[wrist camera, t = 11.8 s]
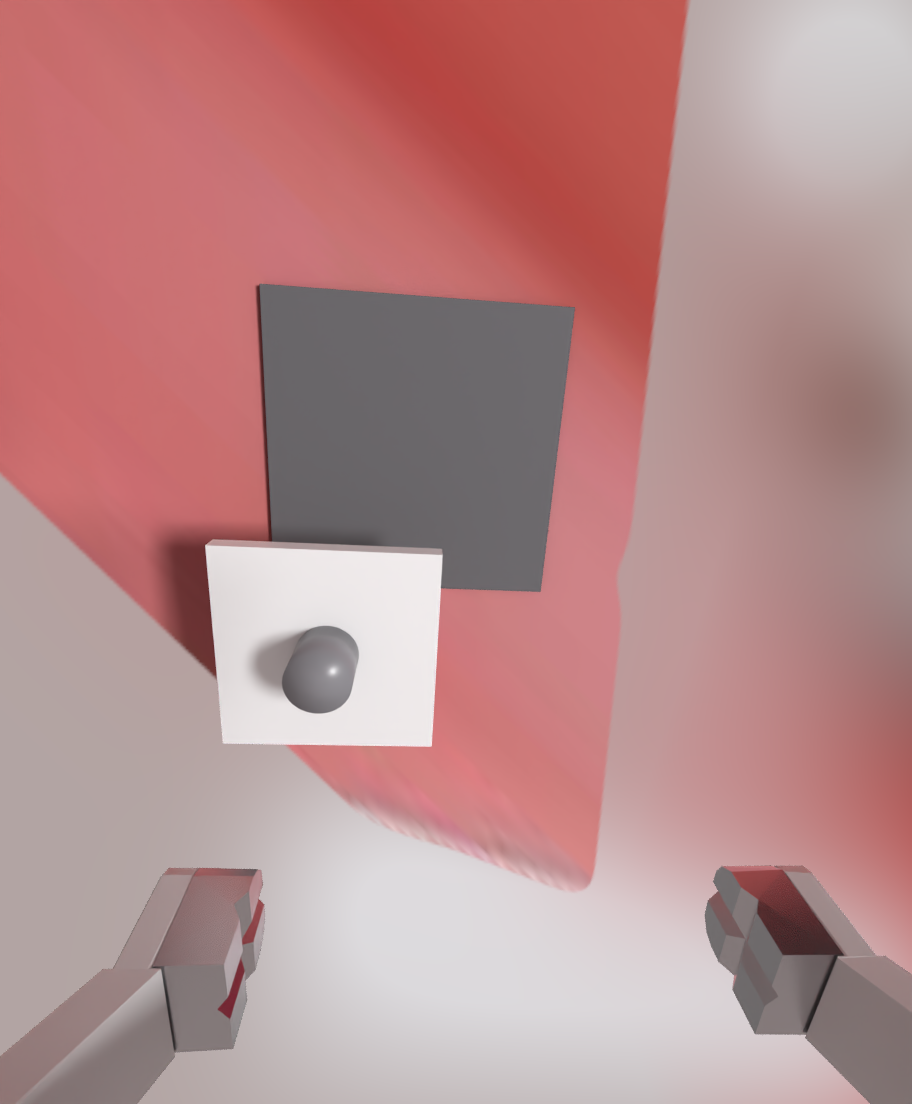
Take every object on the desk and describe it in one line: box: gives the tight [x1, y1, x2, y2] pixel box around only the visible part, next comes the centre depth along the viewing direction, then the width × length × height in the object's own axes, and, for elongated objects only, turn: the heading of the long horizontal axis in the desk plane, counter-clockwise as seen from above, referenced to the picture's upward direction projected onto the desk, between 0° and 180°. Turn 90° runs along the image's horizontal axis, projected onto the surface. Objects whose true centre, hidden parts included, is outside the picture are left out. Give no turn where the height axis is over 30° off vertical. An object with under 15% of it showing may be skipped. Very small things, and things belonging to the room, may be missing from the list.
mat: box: [260, 284, 575, 592], centre depth 38 cm, size 20×20×1 cm
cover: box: [205, 539, 443, 746], centre depth 33 cm, size 14×14×5 cm
